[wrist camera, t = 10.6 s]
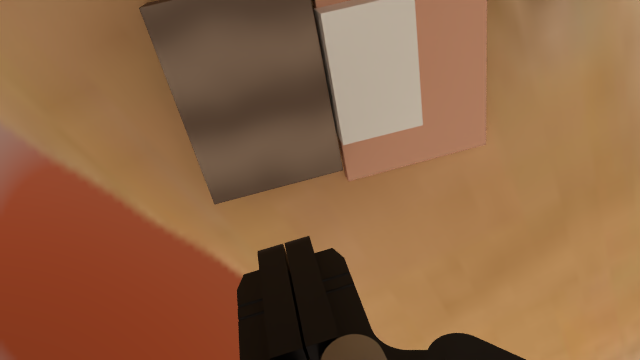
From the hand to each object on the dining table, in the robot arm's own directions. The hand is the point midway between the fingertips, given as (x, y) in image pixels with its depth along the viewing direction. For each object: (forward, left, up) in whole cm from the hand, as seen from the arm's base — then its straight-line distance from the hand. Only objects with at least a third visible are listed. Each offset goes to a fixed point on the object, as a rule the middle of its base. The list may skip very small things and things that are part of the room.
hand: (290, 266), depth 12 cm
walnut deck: (+1, 0, -21) cm, 21 cm away
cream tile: (+1, +8, -20) cm, 22 cm away
